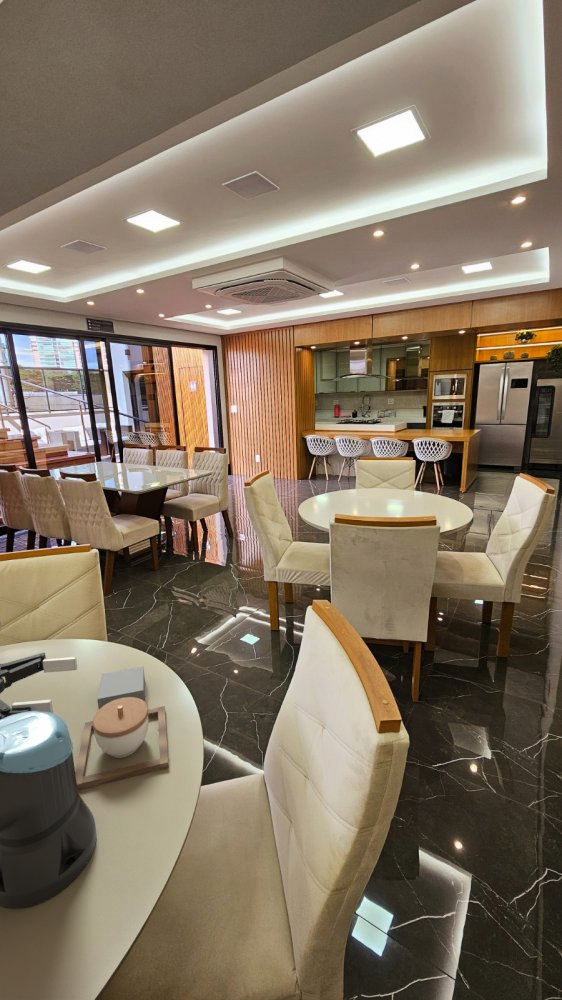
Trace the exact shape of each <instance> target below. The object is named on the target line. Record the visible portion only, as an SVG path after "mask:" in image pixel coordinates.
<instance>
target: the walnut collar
mask: <svg viewBox="0 0 562 1000" xmlns="http://www.w3.org/2000/svg"><path fill="white" fill-rule="evenodd" d="M151 718H157V719H158V745H159V757H158V758H155V759H152V760H148V761H143V762H138V763H133V764H130V765H126V766H121V767H117V768H113V769H111V770H105V771H101V772H97V773H94V774H89V775H86V771H87V770H86V769H87V763H88V757H89V751H90V745H91V740H92V739H91V738H92V732H93V731H94V729H93V724H92V723H93V720H91V721H86V722H84V725H83V730H82V734H81V735H82V737H81V741H80V746H79V747H80V748H79V752H78V756H77V757H78V758H77V762H76V765H75V766H76V767H75V774H76V780H77V788H78V791H79V790H82V789H86V788H87V789H88V788H90V787H95V786H99V785H102V784H107V783H110V782H115V781H118V780H122V779H127V778H132V777H135V776H140V775H144V774H147V773H151V772H155V771H160V770H162V769H163V770H164V769H166V768H167V769H168V768H169V754H168V752H169V751H168V737H167V722H166V706H165V705H162V706H157V707H153V708H148V719H151Z"/></svg>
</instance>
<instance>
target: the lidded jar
mask: <svg viewBox="0 0 562 1000" xmlns="http://www.w3.org/2000/svg"><path fill="white" fill-rule="evenodd" d="M148 709H149V705H148V704H147V703H146V701H145V702H144V701H143V700H141V699H139V698H135V697H125V698H120V699H116V700H114V701H111V702H109V703H107V704H106V705H104V706H103V707H101V708H100V709H99V708H98V710H97V712H96V713H95V714H94V715H93V718H92V721H93V723H92V724H93V729H94V730H93V731H94V737H95V740H96V742H97V745H98V746H99V748H100V750H102V752H103V753H105V754H106V755H109V756H111V757H112V758H115V759H118V758H119V759H121V758H126V757H129V756H130V755H132V754H134V753H135V752H136V751H137V750H138V749H139V747H140V746H141V745H142V744H143V742H144V741H145V739H146V737H147V733H148V730H149V718H148Z"/></svg>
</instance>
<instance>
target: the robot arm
mask: <svg viewBox="0 0 562 1000" xmlns="http://www.w3.org/2000/svg"><path fill="white" fill-rule="evenodd" d="M1 629H2V623H1V621H0V631H1ZM77 670H78V662H77V657H76V656H70V657H69V656H68V657H55V658H47V656H46V653H45V652H41V653H37V654H34V655H29V656H26V657H23V658H18V659H15V660H11V661H9V662H5V663H0V694H2V693H3V692H4V691H5V689H8V688H10V687H11V686H12V685H13V684H14V683H17V682H19V681H21V680H23V679H26V678H29V677H30V676H33V675H35V674H37V673H40V672H42V671H43V673H58V672H68V671H69V672H70V671H77ZM73 744H74V743H73V741H72V738H71V736H70V732H69V729H68V725H67V723H66V721H65V720H64V719H63V718H62V717H61V716H59V715H58V714H56V713H54V709H53V704H52V699H43V700H33V701H32V700H31V701H29V700H28V701H19V702H18V701H17V702H13V703H12V705H11V707H10V706H9V705H8V704H7V703H6V702H4V701H3V700H1V699H0V906H2V907H4V908H9V909H22V908H29V907H33V906H36V905H39V904H41V903H43V902H46V901H48V900H50V899H51V898H53V897H55V896H56V895H58V894H60V893H61V892H62V891H64V890H65V889H66V888H67V887H68V886H70V885H71V884H72V883H73V882H74V881H75V880H76V878H78V876H79V875H80V874H81V873H82V871H83V870H84V869H85V868H86V866H87V865H88V863H89V862H90V860H91V857H92V855H93V853H94V851H95V848H96V845H97V844H96V843H97V827H96V822H95V817H94V815H93V812H92V811H91V809H90V808H89V807H88V805H87V804H86V802H85V800H83V798H82V797H81V796H80V794H79V790H78V788H77V780H76V774H75V772H76V767H75V762H74V754H73V748H74V746H73Z"/></svg>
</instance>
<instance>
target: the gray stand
mask: <svg viewBox="0 0 562 1000" xmlns="http://www.w3.org/2000/svg"><path fill="white" fill-rule="evenodd" d="M144 668H145V667H144V666H138V667H132V668H131V667H130V668H126V669H121V670H115V671H111V672H109V671H108V672H106V673H101V674H100V675H101V676H100V680H99V681H100V682H99V688H98V693H97V706H98V708H97V709H98V710H99V709H100V708H101V707H103V706H104V705H106V704H107V703H109V702H111V701H114V700H116V699H120V698H125V697H135V698H139V699H141V700H143V701H144V702H146V686H145V685H146V678H145V677H146V676H145V669H144Z"/></svg>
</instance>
